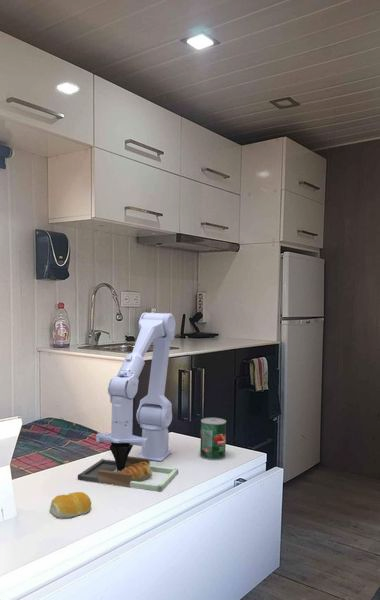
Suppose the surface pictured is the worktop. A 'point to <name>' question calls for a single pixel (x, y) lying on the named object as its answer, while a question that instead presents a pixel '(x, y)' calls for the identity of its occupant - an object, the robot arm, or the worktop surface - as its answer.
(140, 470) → the pastry
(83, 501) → the bread roll
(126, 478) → the corridor
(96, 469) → the tray
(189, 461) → the worktop surface
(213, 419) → the canned tomato
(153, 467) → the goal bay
